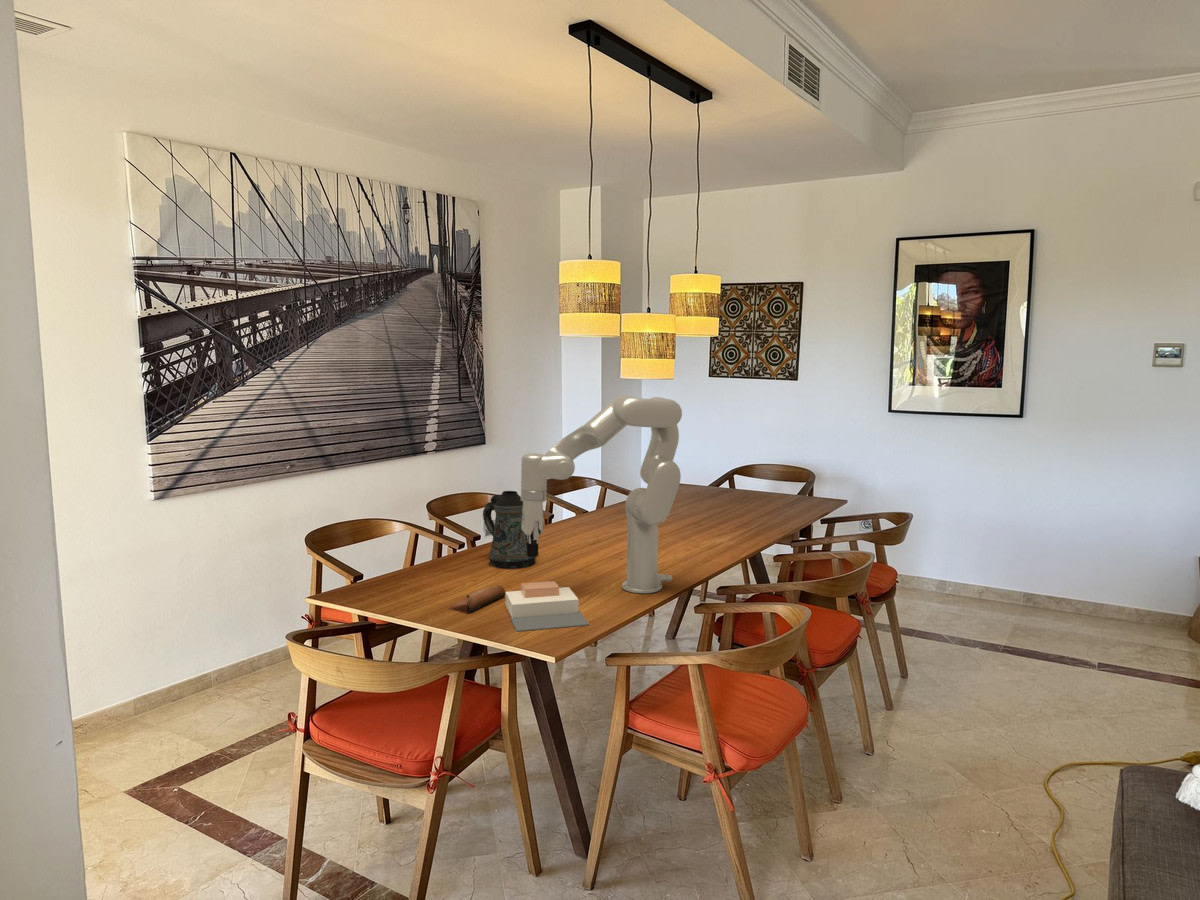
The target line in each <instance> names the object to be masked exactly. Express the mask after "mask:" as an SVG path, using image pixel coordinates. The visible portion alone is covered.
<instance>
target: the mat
mask: <svg viewBox="0 0 1200 900" xmlns="http://www.w3.org/2000/svg"><path fill="white" fill-rule="evenodd" d="M510 621H511V623H512V624H513V626H514V628H515V631H516V632H518V633H519V632H520V633H521V632H529V631H538V630H539V631H541V630H542V631H543V630H550V629H551V630H553V629H562V628H572V627H573V628H574V627H584V626H587V627H588V626H591V625H590V623H589V620H587V618H586V617H585V616H584V615H583V614H582V612H579V611H578V613H567V614H556V615H544V616H532V617H520V618H512V617H511V618H510Z"/></svg>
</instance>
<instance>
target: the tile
mask: <svg viewBox="0 0 1200 900" xmlns="http://www.w3.org/2000/svg"><path fill="white" fill-rule="evenodd" d="M559 588H560V586H559V585H558V583H557V582H556V580H551V581H550V580H549V581H537V582H536V581H535V582H523V583H521V585H520V591H521V592H522V594H523V596H524V597H525V598H531V597H544V596H557V595H559Z"/></svg>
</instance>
